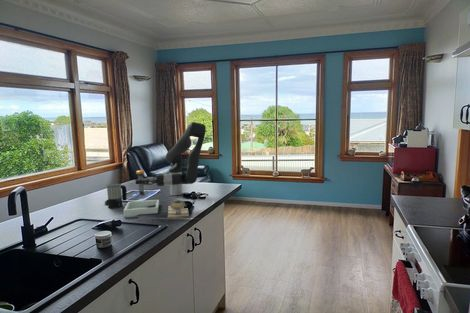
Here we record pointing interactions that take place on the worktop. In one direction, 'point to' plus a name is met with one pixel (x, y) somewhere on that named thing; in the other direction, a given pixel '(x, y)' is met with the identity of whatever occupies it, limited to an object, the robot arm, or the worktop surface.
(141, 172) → the lock pin
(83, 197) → the worktop surface
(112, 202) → the milk frother
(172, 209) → the pulley board
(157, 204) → the tray
